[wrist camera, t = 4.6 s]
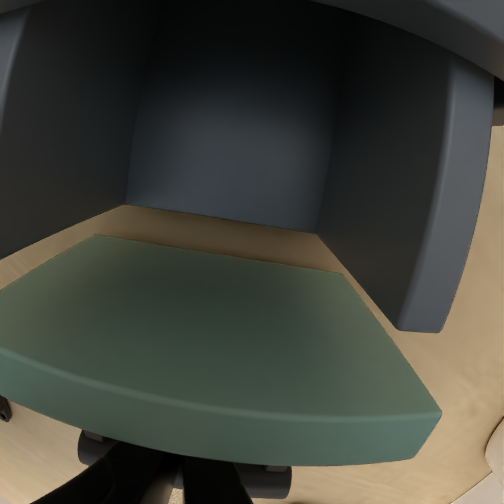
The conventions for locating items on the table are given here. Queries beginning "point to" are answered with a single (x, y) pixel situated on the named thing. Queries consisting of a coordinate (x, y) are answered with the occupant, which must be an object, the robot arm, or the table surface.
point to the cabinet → (430, 29)
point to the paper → (483, 492)
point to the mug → (496, 453)
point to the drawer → (237, 209)
